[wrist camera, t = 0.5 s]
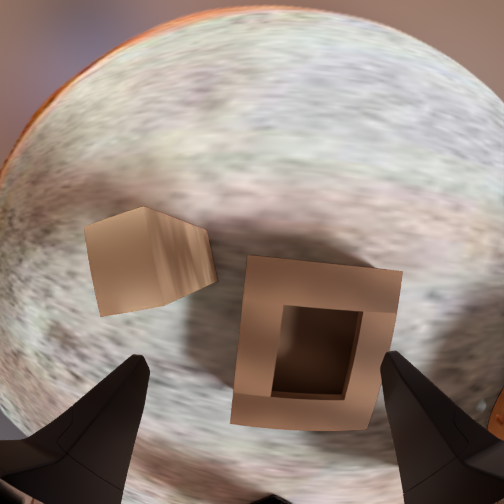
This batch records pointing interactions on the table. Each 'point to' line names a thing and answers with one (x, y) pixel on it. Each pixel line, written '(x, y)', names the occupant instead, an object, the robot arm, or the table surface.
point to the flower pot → (497, 418)
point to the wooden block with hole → (312, 344)
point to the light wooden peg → (146, 260)
